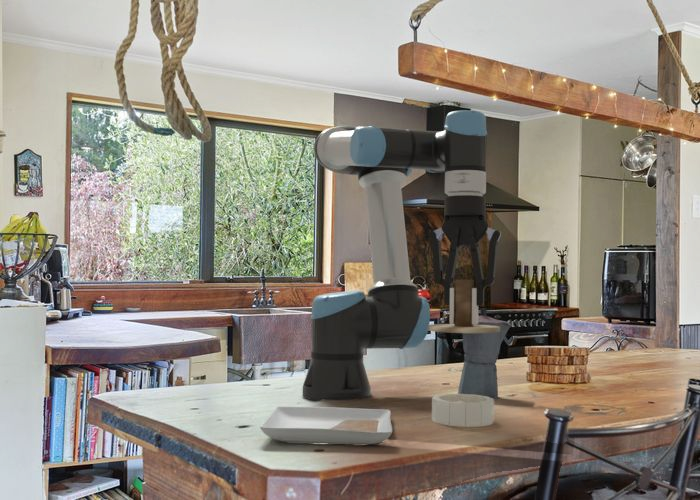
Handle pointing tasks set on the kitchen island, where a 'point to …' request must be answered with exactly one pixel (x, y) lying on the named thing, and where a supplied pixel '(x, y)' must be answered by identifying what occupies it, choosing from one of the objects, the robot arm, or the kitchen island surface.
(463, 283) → the lid
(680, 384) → the kitchen island surface
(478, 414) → the bowl
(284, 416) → the salad plate
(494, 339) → the moka pot
